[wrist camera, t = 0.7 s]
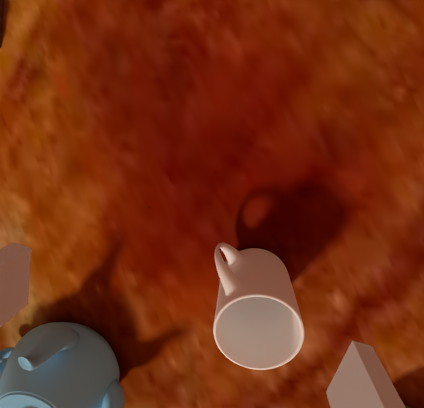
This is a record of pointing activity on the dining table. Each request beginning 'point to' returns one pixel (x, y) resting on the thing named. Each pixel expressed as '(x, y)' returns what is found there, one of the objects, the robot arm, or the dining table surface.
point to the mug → (256, 309)
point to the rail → (0, 14)
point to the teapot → (60, 370)
